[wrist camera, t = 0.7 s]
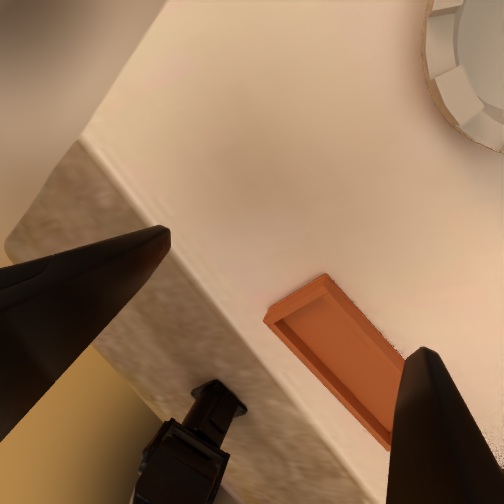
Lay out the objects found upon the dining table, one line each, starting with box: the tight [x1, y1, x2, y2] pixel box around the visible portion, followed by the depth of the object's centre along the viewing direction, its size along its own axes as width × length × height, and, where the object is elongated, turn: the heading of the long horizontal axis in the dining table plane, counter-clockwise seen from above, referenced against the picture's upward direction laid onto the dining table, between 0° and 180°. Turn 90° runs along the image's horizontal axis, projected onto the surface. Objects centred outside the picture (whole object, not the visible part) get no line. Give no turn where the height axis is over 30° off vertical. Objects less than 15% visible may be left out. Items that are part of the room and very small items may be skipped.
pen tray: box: [263, 274, 405, 451], centre depth 27 cm, size 20×8×2 cm, turn 46°
